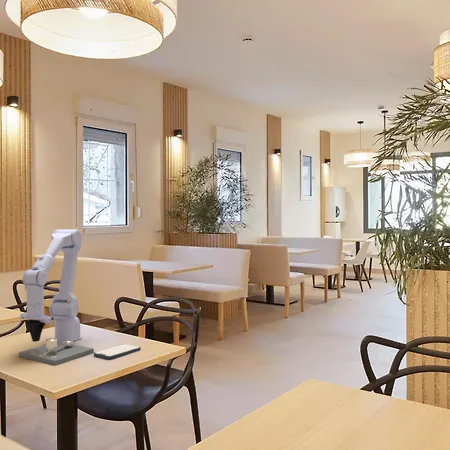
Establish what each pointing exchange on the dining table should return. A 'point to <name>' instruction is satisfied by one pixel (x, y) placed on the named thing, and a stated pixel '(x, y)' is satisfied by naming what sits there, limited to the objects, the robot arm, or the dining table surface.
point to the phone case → (116, 351)
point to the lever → (52, 346)
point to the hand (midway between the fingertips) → (36, 340)
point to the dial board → (56, 354)
